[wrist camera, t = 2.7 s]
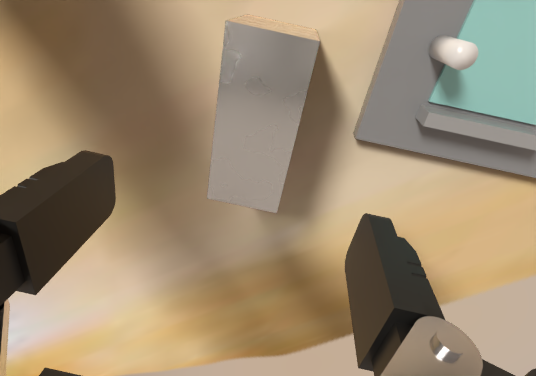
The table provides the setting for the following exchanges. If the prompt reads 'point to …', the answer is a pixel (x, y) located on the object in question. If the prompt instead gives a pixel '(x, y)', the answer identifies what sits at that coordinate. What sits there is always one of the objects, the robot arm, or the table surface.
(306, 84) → the block
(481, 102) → the docking tray
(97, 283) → the table surface
